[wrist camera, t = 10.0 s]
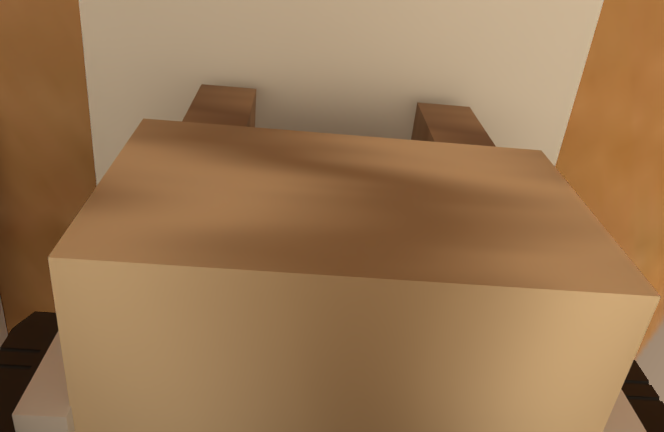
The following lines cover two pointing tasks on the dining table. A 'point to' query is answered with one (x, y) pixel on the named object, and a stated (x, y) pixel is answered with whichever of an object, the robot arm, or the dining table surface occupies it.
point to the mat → (339, 64)
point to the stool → (340, 283)
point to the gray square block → (2, 325)
